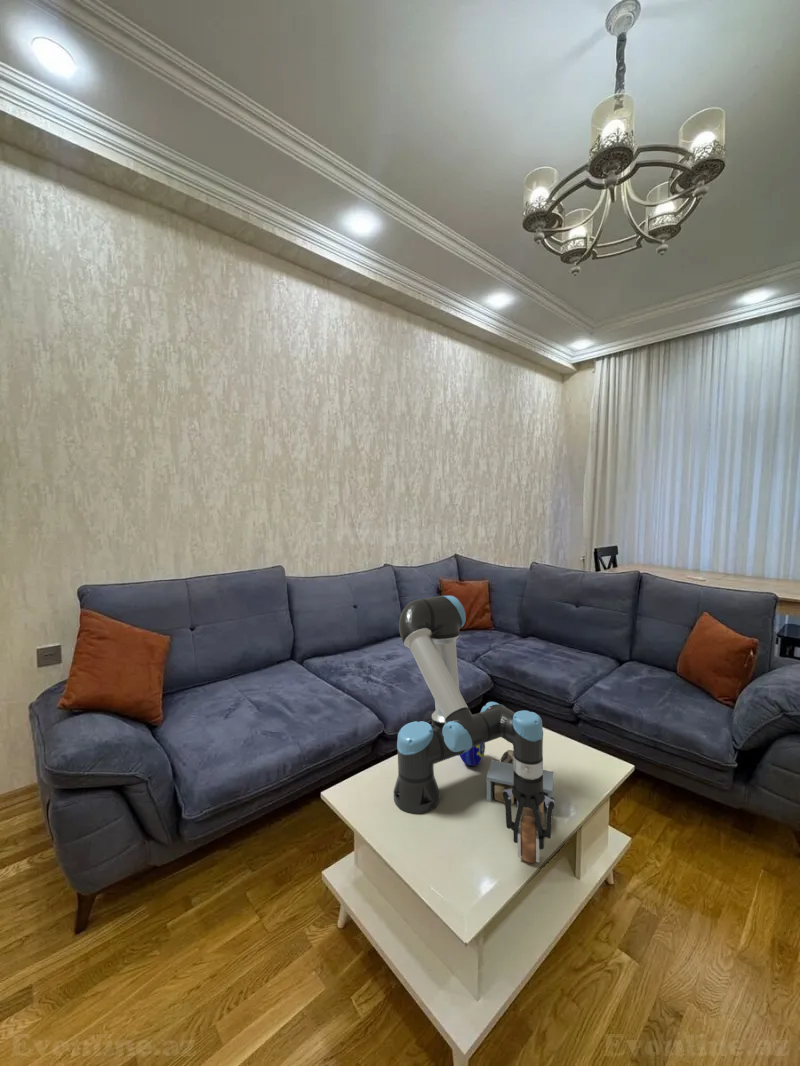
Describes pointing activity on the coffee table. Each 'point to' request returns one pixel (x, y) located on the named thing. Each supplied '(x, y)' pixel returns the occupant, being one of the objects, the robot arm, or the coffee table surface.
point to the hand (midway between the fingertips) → (528, 855)
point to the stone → (507, 757)
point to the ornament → (474, 755)
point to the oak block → (499, 792)
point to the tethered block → (529, 833)
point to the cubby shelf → (505, 775)
